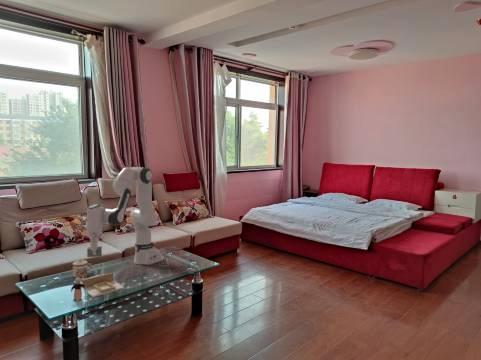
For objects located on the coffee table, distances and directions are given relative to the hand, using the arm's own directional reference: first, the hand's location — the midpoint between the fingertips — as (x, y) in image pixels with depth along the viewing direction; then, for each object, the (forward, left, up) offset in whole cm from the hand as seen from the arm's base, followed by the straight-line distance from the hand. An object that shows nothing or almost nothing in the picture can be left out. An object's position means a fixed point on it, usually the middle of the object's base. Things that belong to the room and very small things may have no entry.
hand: (94, 253), depth 213 cm
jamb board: (0, +4, -19) cm, 20 cm away
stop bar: (0, 0, -2) cm, 2 cm away
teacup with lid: (+1, -19, -20) cm, 27 cm away
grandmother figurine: (+16, +16, -20) cm, 30 cm away
